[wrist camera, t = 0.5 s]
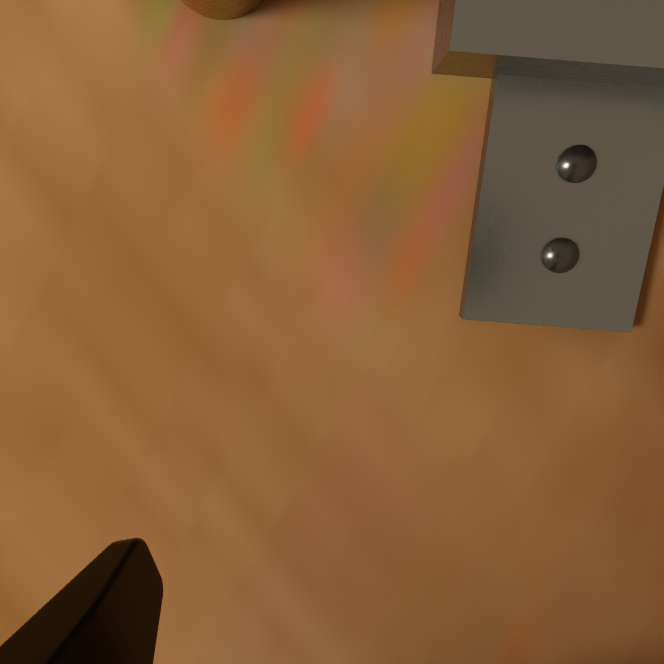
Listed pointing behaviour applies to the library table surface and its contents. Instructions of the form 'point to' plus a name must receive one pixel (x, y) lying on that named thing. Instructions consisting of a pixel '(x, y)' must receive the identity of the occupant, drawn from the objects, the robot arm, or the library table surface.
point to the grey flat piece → (561, 155)
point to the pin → (222, 7)
